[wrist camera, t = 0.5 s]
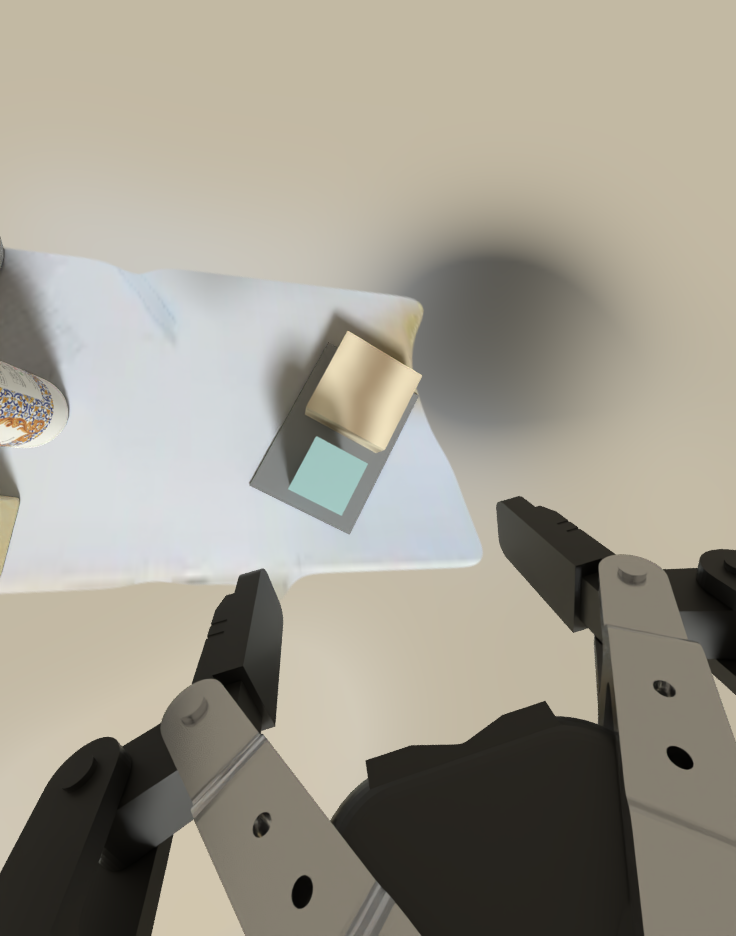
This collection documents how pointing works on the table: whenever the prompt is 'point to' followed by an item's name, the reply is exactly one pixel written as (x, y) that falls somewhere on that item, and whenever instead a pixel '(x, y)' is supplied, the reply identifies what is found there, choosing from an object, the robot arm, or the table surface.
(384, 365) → the base block
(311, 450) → the pillar
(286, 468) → the mat
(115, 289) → the table surface
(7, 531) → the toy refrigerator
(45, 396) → the bath foam
